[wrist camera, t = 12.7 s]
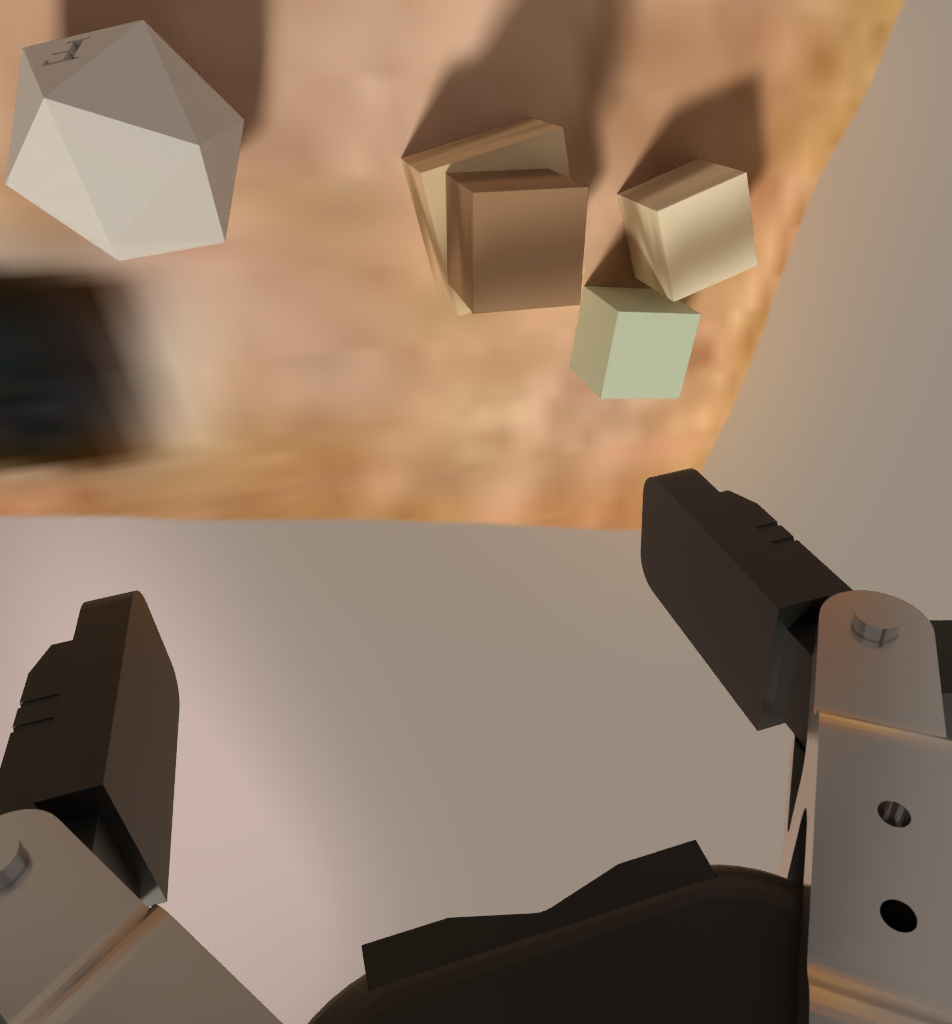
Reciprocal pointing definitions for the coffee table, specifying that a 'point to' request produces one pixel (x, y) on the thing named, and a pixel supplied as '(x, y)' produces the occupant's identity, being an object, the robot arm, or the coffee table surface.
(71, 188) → the die
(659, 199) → the beech block
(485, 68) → the coffee table surface
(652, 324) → the sage block
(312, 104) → the coffee table surface
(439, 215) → the oak base
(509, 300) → the walnut block
